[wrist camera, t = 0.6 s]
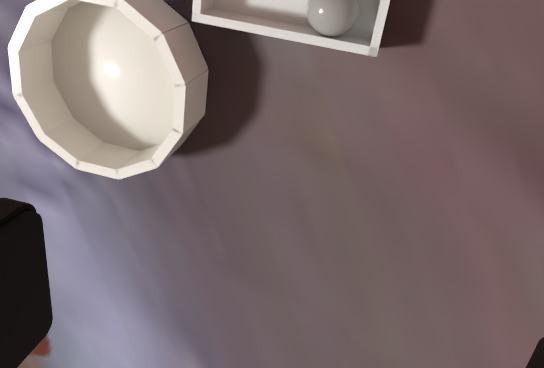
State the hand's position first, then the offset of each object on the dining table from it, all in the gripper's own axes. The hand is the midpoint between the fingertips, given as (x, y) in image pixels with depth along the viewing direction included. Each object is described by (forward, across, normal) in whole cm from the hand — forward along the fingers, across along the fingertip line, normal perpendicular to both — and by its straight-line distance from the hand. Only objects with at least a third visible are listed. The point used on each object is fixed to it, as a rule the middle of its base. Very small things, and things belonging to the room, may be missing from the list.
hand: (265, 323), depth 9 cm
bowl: (+24, +16, +4) cm, 29 cm away
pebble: (+24, +2, -3) cm, 24 cm away
